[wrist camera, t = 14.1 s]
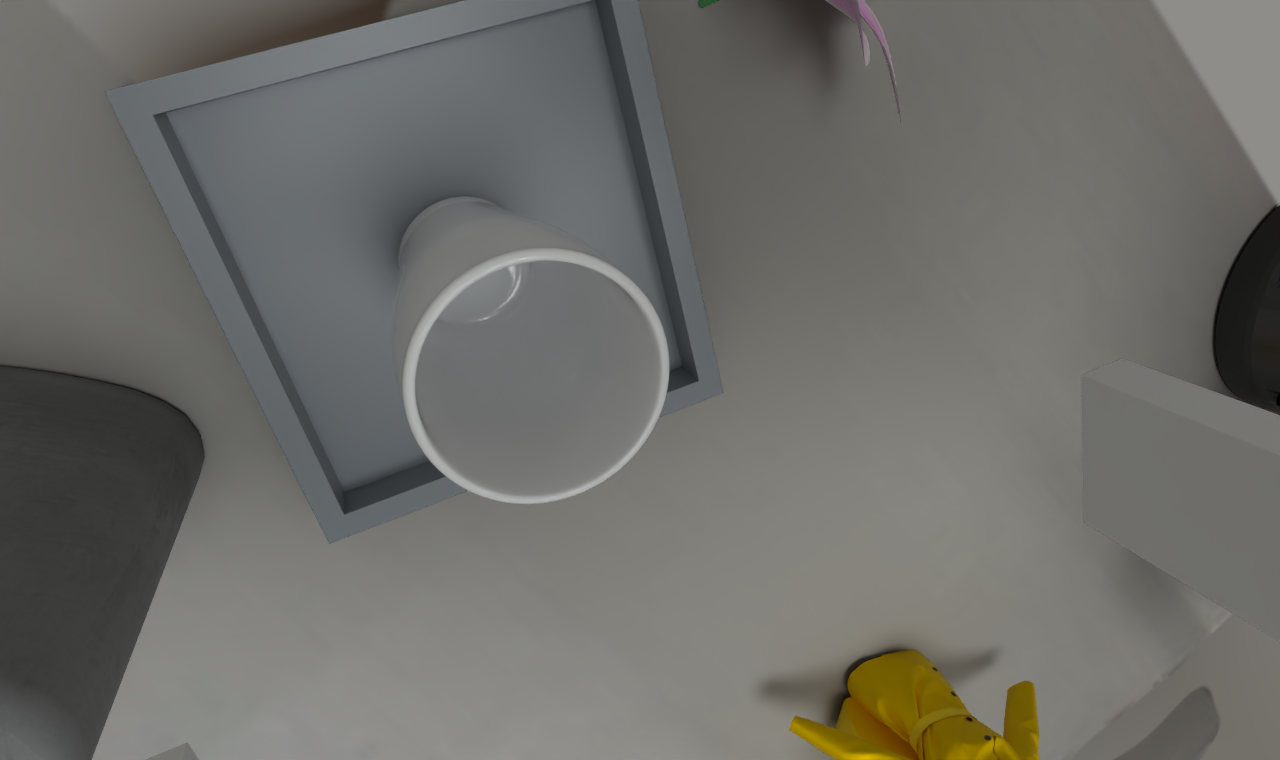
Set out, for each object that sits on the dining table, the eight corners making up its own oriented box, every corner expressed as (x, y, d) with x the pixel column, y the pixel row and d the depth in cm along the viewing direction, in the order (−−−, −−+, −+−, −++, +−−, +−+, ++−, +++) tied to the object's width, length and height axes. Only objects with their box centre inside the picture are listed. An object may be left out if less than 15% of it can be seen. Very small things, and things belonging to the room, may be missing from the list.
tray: (605, -32, 32) (628, -42, 29) (697, 371, 39) (723, 392, 36) (127, 90, 28) (104, 91, 25) (330, 508, 35) (329, 543, 33)
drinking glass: (350, 203, 31) (352, 299, 17) (519, 154, 32) (640, 208, 19) (412, 361, 33) (454, 549, 20) (565, 309, 35) (698, 453, 21)
